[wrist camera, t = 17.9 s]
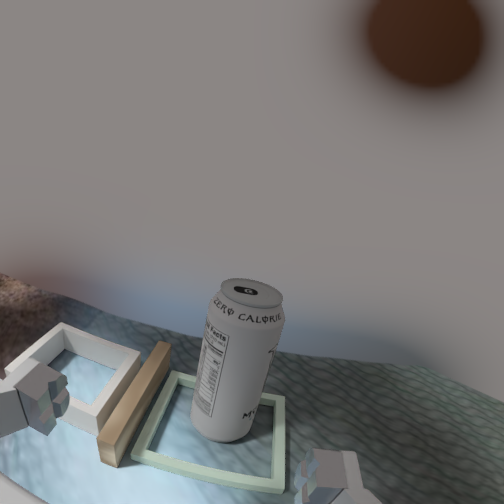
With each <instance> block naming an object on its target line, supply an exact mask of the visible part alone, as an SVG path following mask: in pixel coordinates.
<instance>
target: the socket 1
mask: <svg viewBox="0 0 504 504" xmlns="http://www.w3.org/2000/svg"><path fill="white" fill-rule="evenodd" d="M64 349H66V350H68V351H70V352H73V353H75V354H77V355H80V356H82V357H85V358H87V359H89V360H92V361H94V362H97V363H99V364H102V365H104V366H107V367H110V368H112V369H115V370H117V371H116V372H115V374H114V375H113V376H112V378H111V379H110V380H109V382H108V383H107V384H106V386H105V387H104V388H103V390H102V391H101V392H100V394H99V395H98V397H97V398H96V399H95V401H94V402H93V403H92V405H89V404H86V403H84V402H82V401H80V400H78V399H75V398H73V397H71V396H70V401H69V406H68V408H67V411H66V412H65V414H64V415H63V416H62V417H59V419H61V420H63V421H65V422H67V423H69V424H71V425H73V426H75V427H77V428H79V429H81V430H84V431H86V432H88V433H90V434H92V435H95V436H98V435H99V433H100V432H101V430H102V428H103V427H104V425H105V424H106V422H107V420H108V419H109V417H110V416H111V414H112V413H113V411H114V409H115V408H116V406H117V405H118V403H119V402H120V400H121V398H122V397H123V395H124V394H125V392H126V391H127V389H128V388H129V386H130V384H131V383H132V381H133V380H134V378H135V377H136V375H137V374H138V372H139V371H140V365H141V352H140V351H137V350H134V349H131V348H128V347H125V346H122V345H119V344H116V343H113V342H111V341H108V340H105V339H102V338H100V337H97V336H94V335H92V334H89V333H87V332H84V331H82V330H79V329H77V328H74V327H72V326H69V325H67V324H64V323H62V322H60V323H59V324H58V325H56V326H55V327H54V328H53V329H51V330H50V331H49V332H48V333H46V334H45V335H44V336H43V337H41V338H40V339H39V340H38V341H37V342H35V343H34V344H33V345H32V346H30V347H29V348H28V349H27V350H26V351H24V352H23V353H22V354H21V355H20V356H19V357H17V358H16V359H15V360H14V361H13V362H11V363H10V364H9V365H8V366H7V367H6V368H4V369H5V373H6V376H8V375H9V374H10V373H11V372H13V371H14V370H15V369H16V368H17V367H18V366H19V365H20V364H21V363H23V362H24V361H25V360H26V359H27V358H30V357H32V358H34V359H36V360H38V361H39V362H41V363H43V364H45V365H48V364H49V363H50V362H51V361H52V360H53V359H54V358H55V357H57V356H58V355H59V354H60V353H61V352H62V351H63V350H64Z"/></svg>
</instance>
